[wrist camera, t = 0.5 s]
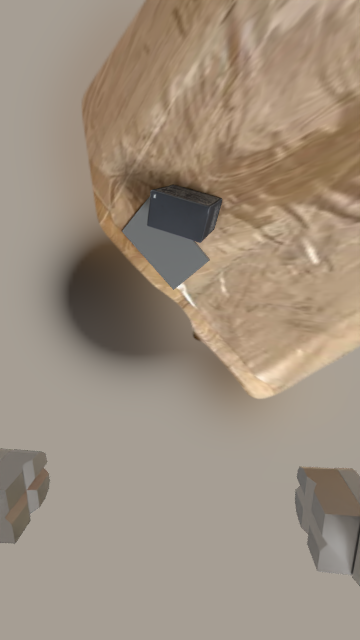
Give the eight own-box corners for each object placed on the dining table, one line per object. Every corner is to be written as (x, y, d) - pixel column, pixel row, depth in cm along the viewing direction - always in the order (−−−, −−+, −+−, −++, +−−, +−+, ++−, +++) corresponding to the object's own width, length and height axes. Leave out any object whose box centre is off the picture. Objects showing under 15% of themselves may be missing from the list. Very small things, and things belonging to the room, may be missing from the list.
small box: (166, 217, 55) (144, 227, 47) (172, 183, 52) (149, 187, 43) (214, 232, 54) (200, 245, 45) (223, 198, 50) (210, 205, 41)
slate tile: (153, 192, 54) (152, 192, 54) (209, 259, 57) (209, 260, 57) (123, 230, 61) (121, 231, 61) (174, 288, 64) (173, 289, 64)
